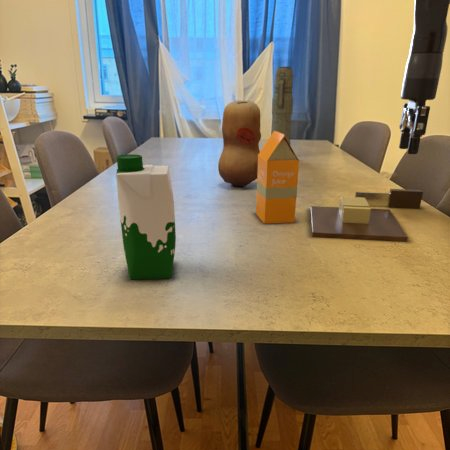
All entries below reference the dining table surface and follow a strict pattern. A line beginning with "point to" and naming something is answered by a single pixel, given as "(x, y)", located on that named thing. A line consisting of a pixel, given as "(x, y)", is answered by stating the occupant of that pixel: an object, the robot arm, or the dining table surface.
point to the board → (356, 225)
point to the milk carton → (146, 217)
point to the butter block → (351, 203)
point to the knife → (394, 198)
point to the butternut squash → (240, 143)
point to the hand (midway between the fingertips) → (407, 151)
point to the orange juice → (277, 181)
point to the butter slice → (356, 215)
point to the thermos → (282, 101)
